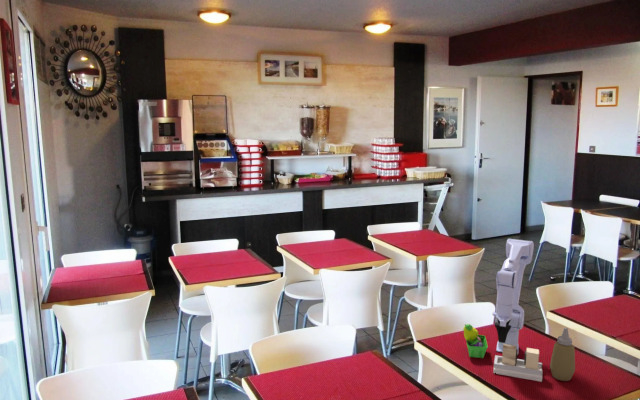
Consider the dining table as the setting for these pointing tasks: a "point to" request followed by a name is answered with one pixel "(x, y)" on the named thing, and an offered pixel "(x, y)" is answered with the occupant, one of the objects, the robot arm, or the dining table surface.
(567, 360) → the squeeze bottle
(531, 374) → the rail
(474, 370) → the dining table surface
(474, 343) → the fruit basket
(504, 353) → the maple finger
